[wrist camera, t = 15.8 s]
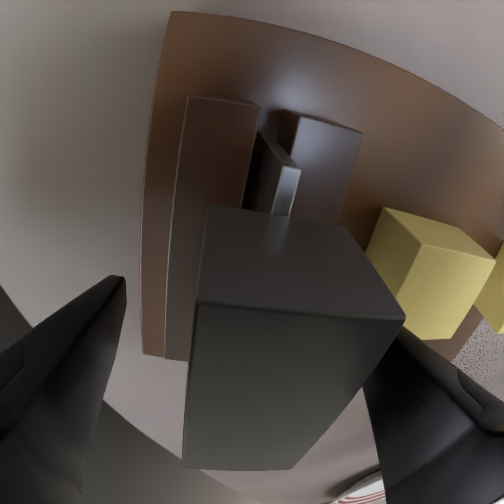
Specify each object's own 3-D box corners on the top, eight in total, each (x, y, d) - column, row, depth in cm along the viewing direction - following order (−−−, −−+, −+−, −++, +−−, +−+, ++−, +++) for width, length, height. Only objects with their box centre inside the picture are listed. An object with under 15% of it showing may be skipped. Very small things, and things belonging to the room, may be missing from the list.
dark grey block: (304, 140, 10) (442, 258, 3) (258, 313, 14) (281, 479, 7) (221, 123, 10) (206, 219, 3) (193, 306, 14) (181, 478, 7)
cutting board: (536, 162, 12) (578, 185, 9) (444, 348, 20) (465, 384, 17) (177, 18, 9) (154, -11, 5) (146, 335, 17) (134, 391, 13)
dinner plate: (471, 416, 32) (479, 432, 29) (452, 455, 45) (456, 466, 42) (307, 485, 36) (310, 503, 33) (341, 501, 50) (343, 513, 47)
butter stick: (458, 227, 13) (497, 261, 10) (422, 299, 15) (450, 339, 12) (382, 206, 12) (421, 243, 9) (347, 292, 14) (370, 340, 11)
